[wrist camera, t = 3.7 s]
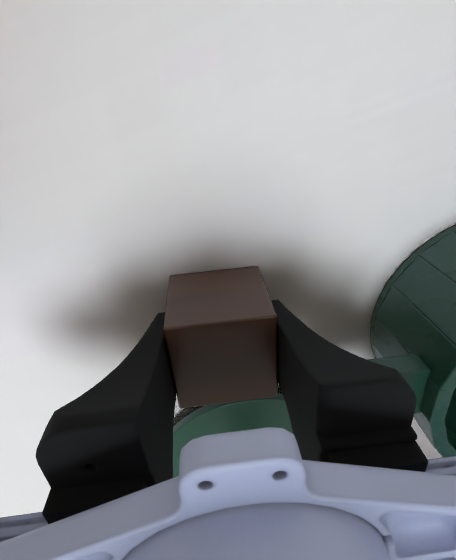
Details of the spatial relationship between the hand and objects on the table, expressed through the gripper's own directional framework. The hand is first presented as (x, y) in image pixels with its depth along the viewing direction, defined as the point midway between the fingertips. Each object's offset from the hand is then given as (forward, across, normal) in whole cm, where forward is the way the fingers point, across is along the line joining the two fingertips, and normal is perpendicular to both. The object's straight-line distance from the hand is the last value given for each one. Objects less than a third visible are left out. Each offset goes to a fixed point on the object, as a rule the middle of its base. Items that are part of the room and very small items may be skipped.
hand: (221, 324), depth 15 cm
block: (+1, 0, 0) cm, 1 cm away
